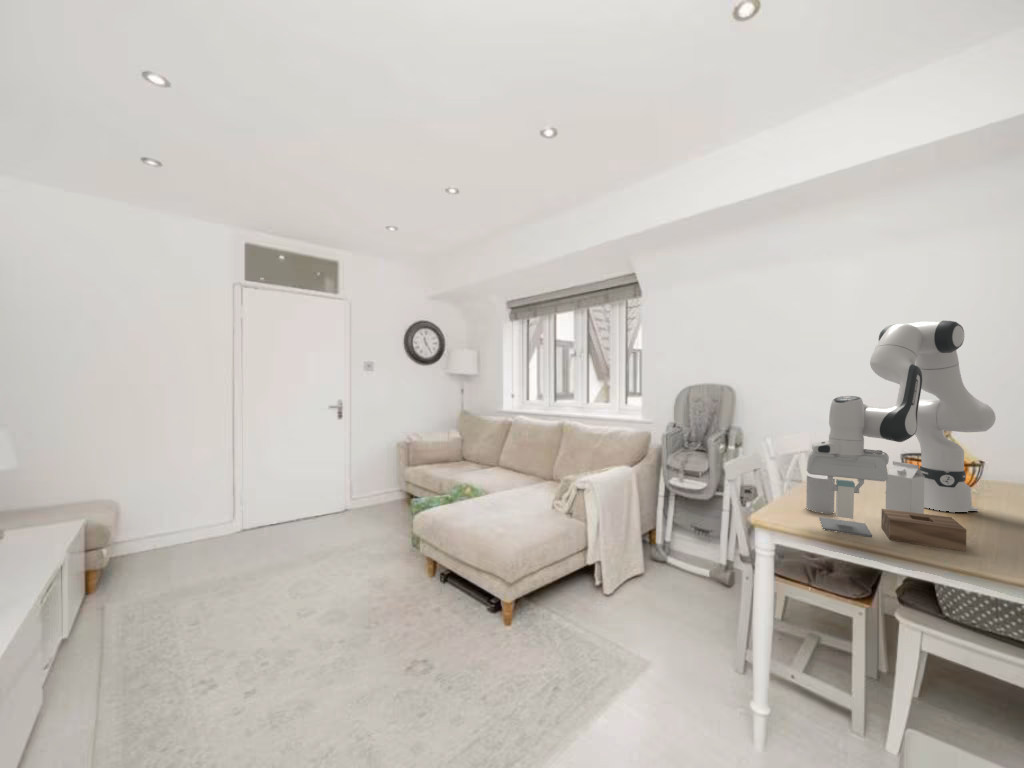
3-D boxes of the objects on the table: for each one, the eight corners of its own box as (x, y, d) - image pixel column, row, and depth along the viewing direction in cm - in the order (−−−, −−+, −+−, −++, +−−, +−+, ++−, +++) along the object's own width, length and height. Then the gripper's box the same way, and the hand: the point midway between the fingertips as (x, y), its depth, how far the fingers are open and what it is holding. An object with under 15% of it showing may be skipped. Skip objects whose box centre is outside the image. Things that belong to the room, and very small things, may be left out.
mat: (819, 518, 147) (819, 517, 147) (865, 525, 140) (865, 523, 140) (822, 529, 136) (823, 527, 136) (872, 537, 130) (872, 535, 130)
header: (881, 527, 138) (881, 508, 138) (950, 537, 130) (951, 517, 130) (889, 539, 128) (890, 519, 128) (965, 551, 120) (966, 529, 120)
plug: (835, 513, 141) (836, 479, 141) (851, 515, 139) (852, 480, 139) (836, 516, 138) (837, 481, 137) (853, 519, 135) (854, 483, 135)
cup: (837, 510, 156) (838, 476, 155) (829, 515, 151) (829, 480, 150) (811, 505, 162) (811, 472, 162) (802, 509, 157) (803, 475, 157)
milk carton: (898, 515, 150) (899, 460, 150) (923, 522, 143) (925, 464, 143) (885, 518, 147) (886, 461, 147) (910, 524, 141) (911, 466, 140)
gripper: (886, 449, 135) (885, 493, 135) (806, 443, 146) (806, 485, 146) (891, 452, 130) (890, 498, 130) (807, 446, 140) (807, 489, 141)
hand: (844, 491), depth 138 cm, fingers closed on plug, 4 cm apart
